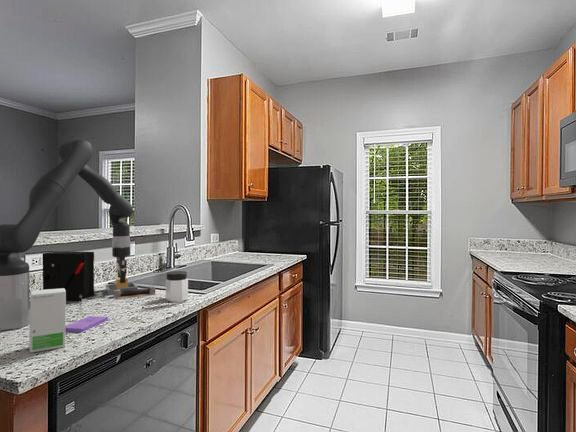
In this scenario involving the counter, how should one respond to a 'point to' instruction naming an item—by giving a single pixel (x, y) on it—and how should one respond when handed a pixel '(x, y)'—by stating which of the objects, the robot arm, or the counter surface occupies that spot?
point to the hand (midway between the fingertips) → (121, 281)
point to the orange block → (121, 285)
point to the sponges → (85, 324)
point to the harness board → (134, 292)
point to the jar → (177, 287)
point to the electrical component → (69, 273)
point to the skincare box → (47, 319)
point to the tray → (112, 287)
